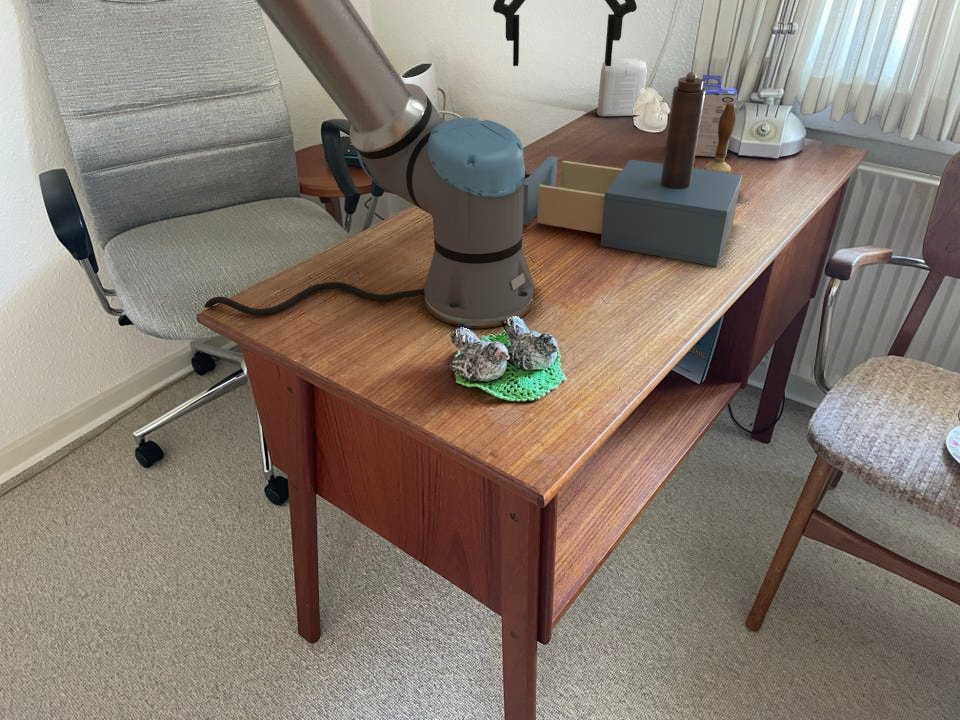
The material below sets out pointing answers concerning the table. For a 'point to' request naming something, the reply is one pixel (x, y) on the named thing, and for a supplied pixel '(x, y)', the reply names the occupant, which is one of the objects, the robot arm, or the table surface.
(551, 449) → the table surface
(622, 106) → the white tall block
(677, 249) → the cabinet
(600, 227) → the drawer
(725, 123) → the hand bell
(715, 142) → the ink cartridge box
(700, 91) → the pepper mill
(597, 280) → the table surface
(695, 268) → the table surface
